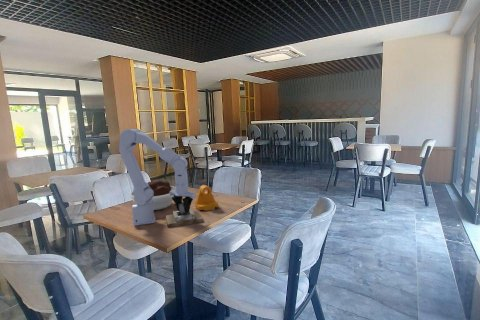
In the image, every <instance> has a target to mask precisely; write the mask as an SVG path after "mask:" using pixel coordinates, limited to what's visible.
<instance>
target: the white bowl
mask: <svg viewBox="0 0 480 320" xmlns="http://www.w3.org/2000/svg"><path fill="white" fill-rule="evenodd" d="M146 183H147V184H149V187H150V188H151V189H152V190H153V192H154V196H153V198H152V201H153V210H154V211H157V210H158V211H159V210H162V209H165V208H168V207H170V206H171V205H172V204H173V203H174V201H173V200H172V197H174V195H170V191H172V190H173V191H176V186H174V185H170V182H169V181H162V180H156V181H154V180H152V181H148V182H146ZM129 196H130V199H131V200H132V201H133V203H135V201H134V193H133V191H132V192H130V194H129Z"/></svg>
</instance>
